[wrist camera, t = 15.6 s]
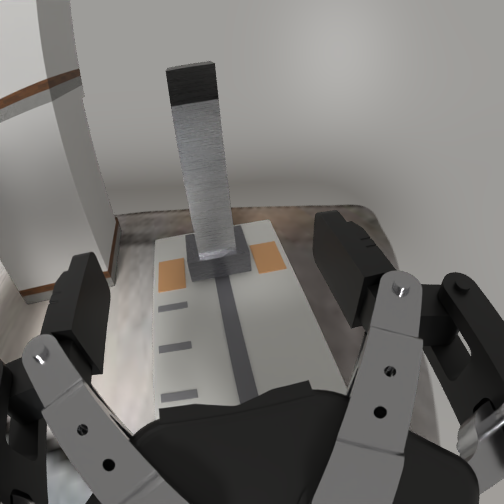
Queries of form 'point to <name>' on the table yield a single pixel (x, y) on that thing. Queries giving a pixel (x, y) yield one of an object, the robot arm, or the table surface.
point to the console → (234, 328)
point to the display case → (47, 153)
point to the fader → (205, 174)
